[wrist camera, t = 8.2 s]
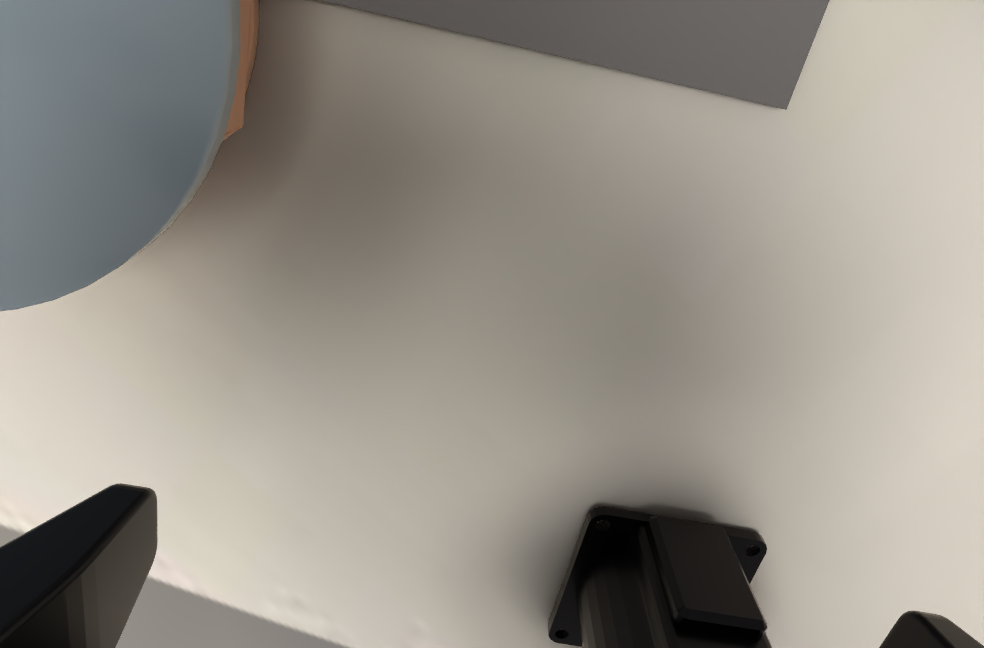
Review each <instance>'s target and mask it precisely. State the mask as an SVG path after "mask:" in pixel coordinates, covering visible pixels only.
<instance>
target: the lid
mask: <svg viewBox="0 0 984 648" xmlns="http://www.w3.org/2000/svg"><path fill="white" fill-rule="evenodd" d="M240 47H241V42H240V0H0V311H5V310H14V309H20V308H24V307H28V306H32V305H36V304H40V303H44V302H48V301H52V300H55V299H57V298H60V297H62V296H64V295H67V294H69V293H72V292H74V291H77V290H79V289H81V288H84V287H86V286H88V285H90V284H92V283H93V282H95V281H97V280H98V279H100V278H101V277H103V276H105V275H106V274H108V273H110V272H111V271H113V270H115V269H116V268H118V267H119V266H121V265H122V264H124V263H125V262H126V261H128V260H129V259H131V258H132V257H133V256H135V255H136V254H138V253H139V252H140V251H142V250H143V249H144V248H145V247H146V246H148V245H149V244H150V243H151V242H152V241H154V240H155V239H156V238H157V237H158V236H159V235H161V234H162V233H163V232H164V231H165V230H166V229H168V228H169V226H170V225H171V224H172V223H173V222H174V221H175V219H176V218H177V217H178V216H179V215H180V213H181V212H182V211H183V210H184V209H185V208H186V206H187V205H188V204H189V203H190V202H191V200H192V199H193V197H194V195H195V194H196V192H197V190H198V189H199V187H200V185H201V184H202V182H203V180H204V179H205V177H206V176H207V174H208V172H209V171H210V169H211V166H212V164H213V162H214V159H215V157H216V154H217V152H218V149H219V147H220V145H221V142H222V140H223V137H224V135H225V132H226V128H227V124H228V120H229V116H230V112H231V108H232V104H233V100H234V96H235V92H236V84H237V75H238V66H239V56H240Z"/></svg>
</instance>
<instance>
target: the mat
mask: <svg viewBox="0 0 984 648" xmlns="http://www.w3.org/2000/svg"><path fill="white" fill-rule="evenodd" d="M323 1H327V2H331V3H336V4H340V5H344V6H348V7H353V8H357V9H361V10H365V11H370V12H374V13H378V14H382V15H387V16H391V17H395V18H399V19H404V20H408V21H412V22H416V23H421V24H425V25H429V26H433V27H438V28H442V29H446V30H450V31H455V32H459V33H463V34H467V35H471V36H476V37H480V38H484V39H488V40H493V41H497V42H501V43H505V44H510V45H514V46H518V47H522V48H527V49H531V50H535V51H539V52H544V53H548V54H552V55H556V56H561V57H565V58H569V59H573V60H578V61H582V62H586V63H590V64H595V65H599V66H603V67H607V68H612V69H616V70H620V71H624V72H629V73H633V74H637V75H641V76H646V77H650V78H654V79H658V80H663V81H667V82H671V83H675V84H680V85H684V86H688V87H692V88H696V89H701V90H705V91H709V92H713V93H718V94H722V95H726V96H730V97H735V98H739V99H743V100H747V101H752V102H756V103H760V104H764V105H769V106H773V107H777V108H781V109H787V106H788V104H789V101H790V99H791V96H792V94H793V91H794V89H795V86H796V84H797V81H798V79H799V76H800V74H801V71H802V68H803V66H804V63H805V61H806V58H807V56H808V53H809V51H810V48H811V46H812V43H813V41H814V38H815V35H816V33H817V30H818V28H819V25H820V23H821V20H822V18H823V15H824V13H825V10H826V8H827V5H828V2H829V0H323Z"/></svg>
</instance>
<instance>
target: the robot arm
mask: <svg viewBox="0 0 984 648" xmlns="http://www.w3.org/2000/svg"><path fill="white" fill-rule="evenodd" d="M600 520H606V522H604V523H597V522H598V521H600ZM752 545H754V546H752ZM749 546H752V547H750V548H748V547H749ZM156 550H157V497H156V494H155V492H154V491H153V490H152V489H150V488H146V487H140V486H134V485H128V484H115V485H112V486H109V487H107V488H106V489H104V490H102V491H100V492H98V493H97V494H95V495H93V496H91V497H89V498H88V499H86V500H84V501H82V502H80V503H79V504H77V505H75V506H73V507H71V508H70V509H68V510H66V511H64V512H62V513H61V514H59V515H57V516H55V517H53V518H52V519H50V520H48V521H46V522H44V523H43V524H41V525H39V526H37V527H35V528H34V529H32V530H30V531H28V532H26V533H25V534H23V535H21V536H20V537H18V538H16V539H14V540H12V541H10V542H8V543H7V544H5V545H3V546H1V547H0V648H115V647H116V645H117V643H118V640H119V638H120V636H121V634H122V631H123V629H124V627H125V625H126V622H127V620H128V618H129V616H130V613H131V611H132V609H133V607H134V605H135V602H136V600H137V598H138V596H139V593H140V591H141V589H142V587H143V584H144V582H145V580H146V578H147V575H148V573H149V571H150V569H151V566H152V564H153V561H154V558H155V554H156ZM766 551H767V547H766V544H765V542H764V540H763V538H762V536H761V535H759V534H758V533H755V532H751V531H745V530H739V529H733V528H727V527H721V526H716V525H710V524H704V523H698V522H692V521H686V520H680V519H674V518H669V517H663V516H657V515H651V514H645V513H639V512H633V511H628V510H622V509H616V508H610V507H596V508H594V509H592V510H591V511H590V512H589V513H588V515H587V517H586V520H585V523H584V526H583V528H582V531H581V534H580V537H579V540H578V542H577V545H576V548H575V551H574V553H573V556H572V559H571V562H570V564H569V567H568V570H567V573H566V576H565V578H564V581H563V584H562V587H561V589H560V592H559V595H558V598H557V601H556V603H555V606H554V609H553V612H552V614H551V617H550V620H549V623H548V633H549V637H550V639H551V640H552V641H554V642H557V643H562V644H568V645H575V646H582V647H583V648H772V646H771V644H770V642H769V639H768V637H767V635H766V632H765V631H766V629H767V623H766V621H765V619H764V616H763V614H762V612H761V610H760V607H759V605H758V603H757V601H756V598H755V596H754V594H753V591H752V589H751V587H750V585H749V584H750V582H751V580H752V578H753V577H754V575H755V573H756V571H757V569H758V567H759V565H760V563H761V561H762V560H763V558H764V556H765V554H766ZM879 648H984V646H983V645H982V644H980V643H979V642H978V641H976V640H975V639H974V638H972V637H971V636H970V635H968V634H967V633H966V632H965V631H963V630H962V629H961V628H959V627H958V626H957V625H955V624H954V623H953V622H951V621H950V620H949V619H947V618H945V617H943V616H941V615H937V614H932V613H925V612H919V611H908V612H906V613H904V614H902V616H901V617H900V618H899V619H898V621H897V622H896V624H895V625H894V627H893V628H892V630H891V631H890V633H889V634H888V636H887V637H886V638H885V640H884V641H883V643H882V644H881V646H880V647H879Z"/></svg>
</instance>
